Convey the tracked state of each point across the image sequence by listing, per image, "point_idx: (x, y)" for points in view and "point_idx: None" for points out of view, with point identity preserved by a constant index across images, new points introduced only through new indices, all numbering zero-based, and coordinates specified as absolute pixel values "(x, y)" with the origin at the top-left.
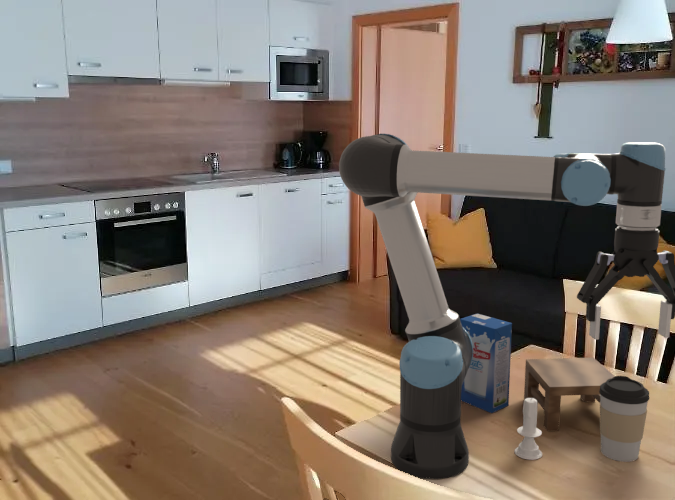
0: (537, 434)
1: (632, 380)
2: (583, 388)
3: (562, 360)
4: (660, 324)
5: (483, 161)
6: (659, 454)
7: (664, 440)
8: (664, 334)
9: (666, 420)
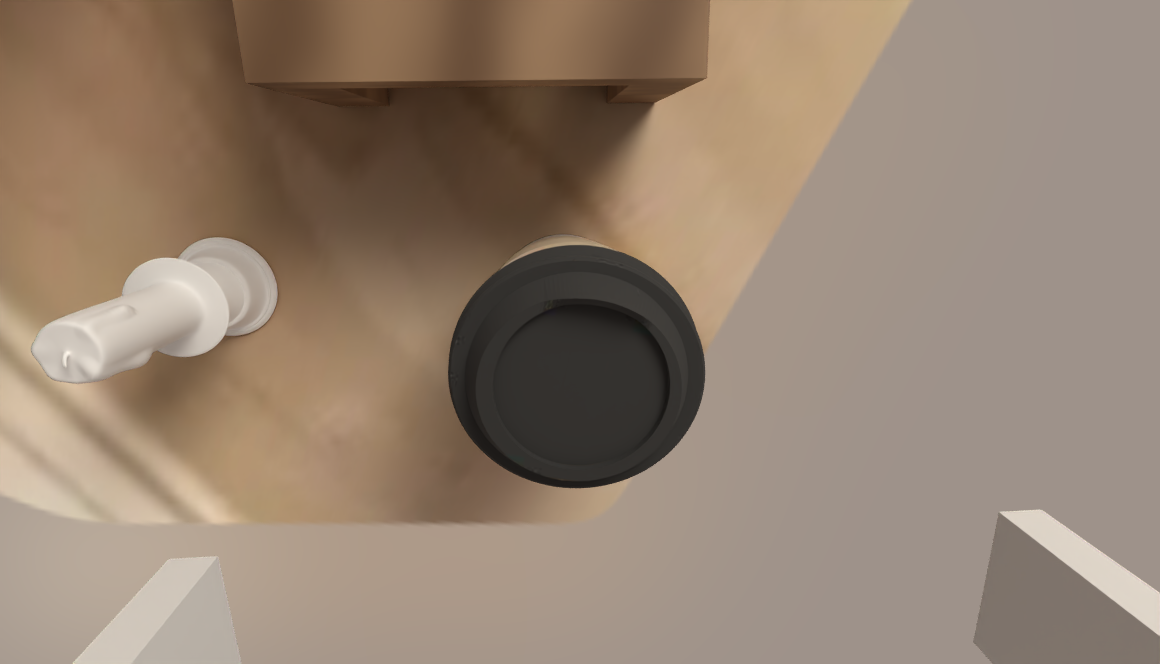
0: (205, 340)
1: (654, 334)
2: (460, 81)
3: None
4: (1090, 622)
5: None
6: (697, 308)
7: (770, 208)
8: (996, 644)
9: (879, 32)
